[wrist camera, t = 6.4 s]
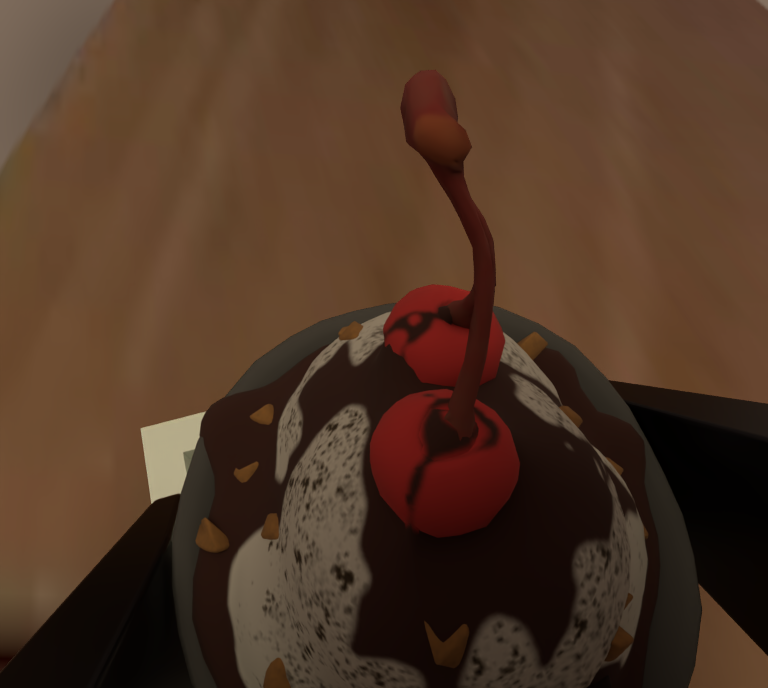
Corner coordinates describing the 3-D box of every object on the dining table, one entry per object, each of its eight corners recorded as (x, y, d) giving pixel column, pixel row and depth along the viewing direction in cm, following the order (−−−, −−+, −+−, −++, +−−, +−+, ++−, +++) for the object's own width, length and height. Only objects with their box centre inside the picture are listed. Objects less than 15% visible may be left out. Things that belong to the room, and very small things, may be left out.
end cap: (578, 683, 19) (622, 700, 16) (225, 837, 16) (206, 887, 13) (455, 371, 23) (472, 342, 21) (164, 449, 21) (140, 428, 18)
